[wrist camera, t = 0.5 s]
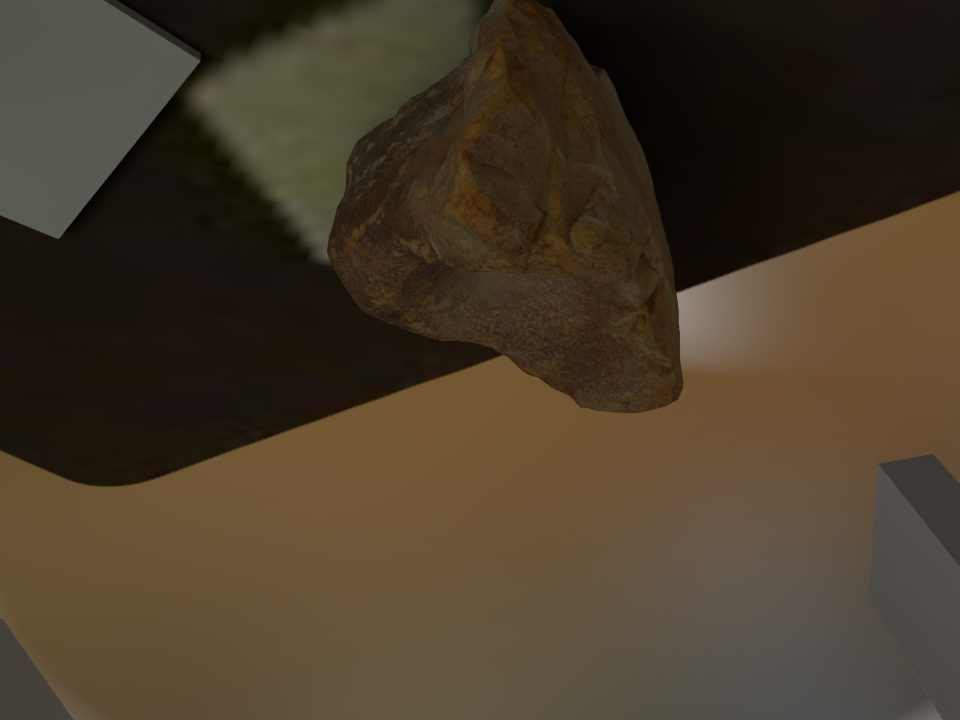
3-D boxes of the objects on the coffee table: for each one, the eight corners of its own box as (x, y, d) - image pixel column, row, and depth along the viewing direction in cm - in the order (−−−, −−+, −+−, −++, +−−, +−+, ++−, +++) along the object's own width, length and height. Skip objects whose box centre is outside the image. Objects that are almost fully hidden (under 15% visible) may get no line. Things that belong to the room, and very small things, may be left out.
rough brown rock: (210, 36, 37) (184, 298, 29) (548, -132, 32) (625, 127, 24) (431, 293, 55) (451, 494, 48) (664, 211, 51) (729, 418, 43)
